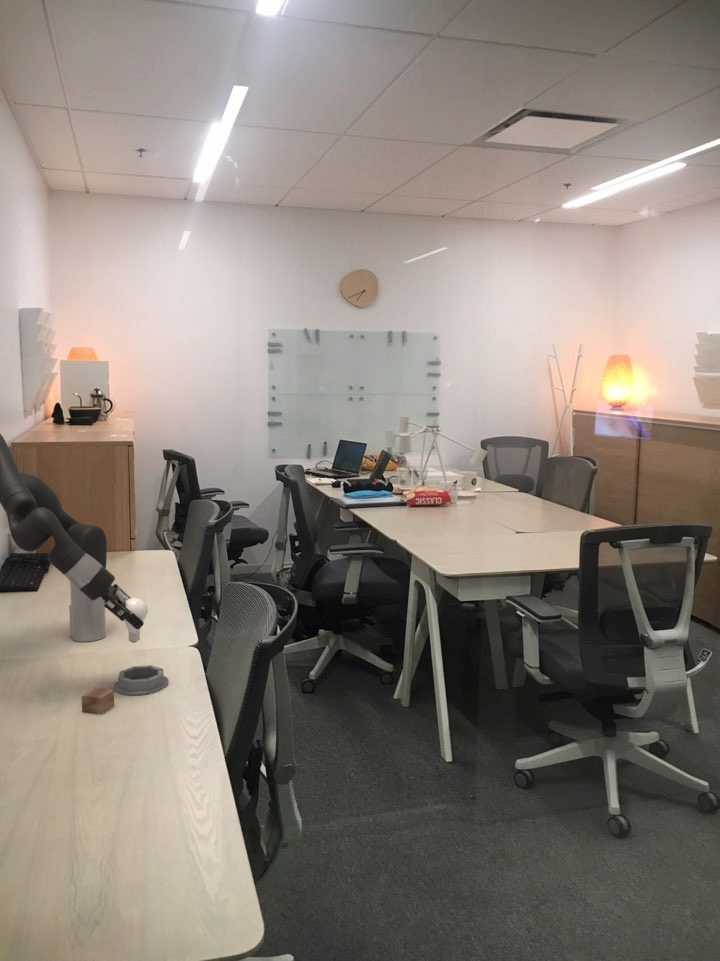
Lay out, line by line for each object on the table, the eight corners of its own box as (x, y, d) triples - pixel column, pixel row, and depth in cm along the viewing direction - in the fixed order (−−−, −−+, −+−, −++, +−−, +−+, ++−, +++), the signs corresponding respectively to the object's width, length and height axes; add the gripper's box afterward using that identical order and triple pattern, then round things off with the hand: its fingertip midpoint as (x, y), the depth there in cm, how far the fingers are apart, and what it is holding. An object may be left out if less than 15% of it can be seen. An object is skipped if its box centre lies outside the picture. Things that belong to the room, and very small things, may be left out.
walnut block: (82, 712, 173) (81, 695, 173) (95, 704, 178) (94, 687, 177) (101, 715, 172) (100, 698, 171) (114, 706, 177) (113, 689, 176)
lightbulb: (152, 639, 189) (152, 596, 188) (137, 648, 183) (137, 603, 182) (130, 636, 191) (130, 593, 190) (115, 644, 185) (114, 600, 184)
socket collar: (102, 687, 187) (101, 675, 187) (144, 671, 198) (143, 660, 198) (138, 700, 180) (138, 687, 180) (179, 682, 191) (179, 670, 190)
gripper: (81, 580, 190) (131, 624, 194) (74, 595, 176) (128, 643, 180) (103, 558, 190) (153, 602, 194) (98, 572, 176) (152, 620, 181)
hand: (141, 622), depth 187 cm, fingers closed on lightbulb, 6 cm apart
